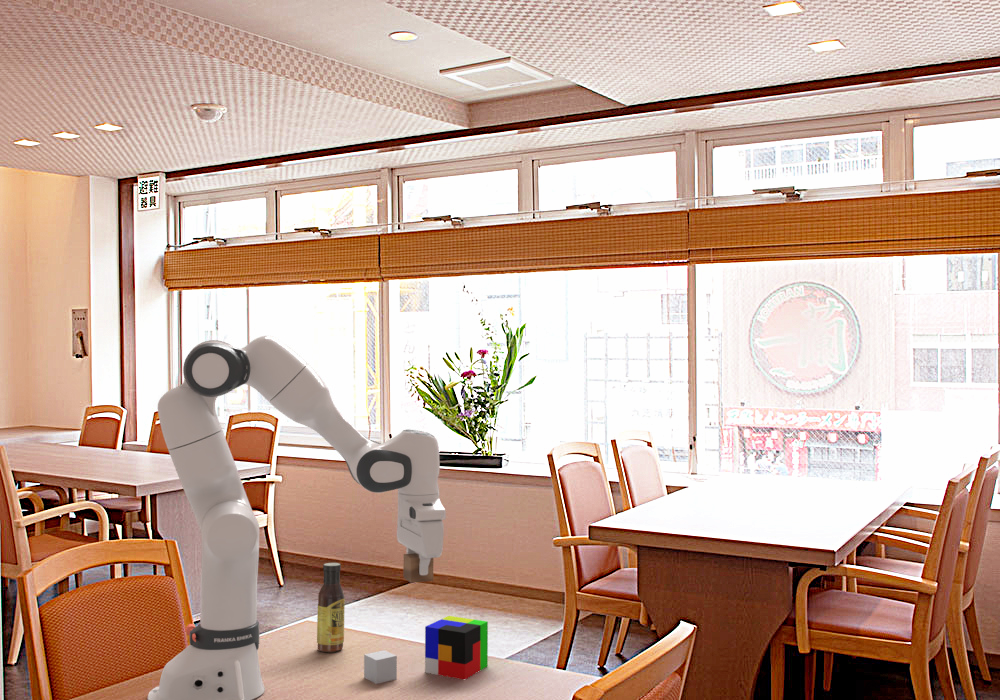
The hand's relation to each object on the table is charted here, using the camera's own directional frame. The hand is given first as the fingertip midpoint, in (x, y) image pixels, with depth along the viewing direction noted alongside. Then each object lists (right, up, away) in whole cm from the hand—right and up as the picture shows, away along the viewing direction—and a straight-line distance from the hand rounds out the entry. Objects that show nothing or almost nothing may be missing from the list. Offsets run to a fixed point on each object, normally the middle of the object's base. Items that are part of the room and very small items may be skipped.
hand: (418, 571), depth 201 cm
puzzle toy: (+8, -23, +6) cm, 25 cm away
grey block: (-8, -23, +1) cm, 24 cm away
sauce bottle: (-22, -23, +21) cm, 38 cm away
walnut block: (0, -2, 0) cm, 2 cm away
